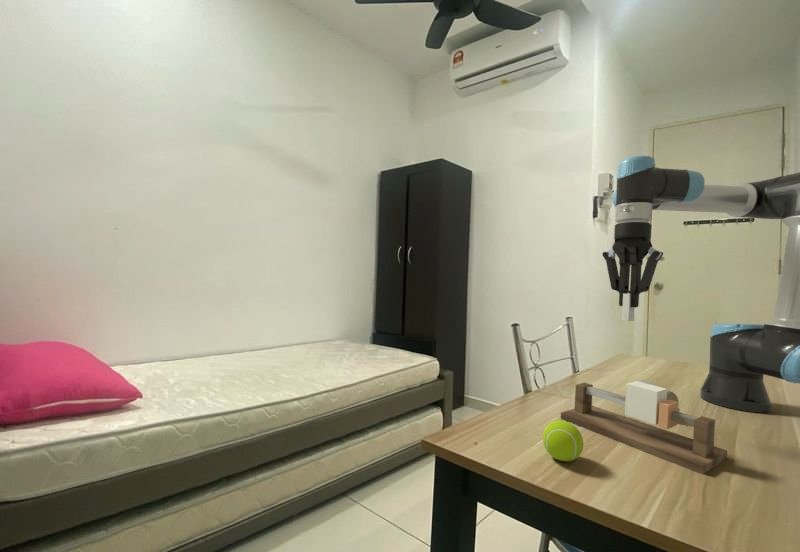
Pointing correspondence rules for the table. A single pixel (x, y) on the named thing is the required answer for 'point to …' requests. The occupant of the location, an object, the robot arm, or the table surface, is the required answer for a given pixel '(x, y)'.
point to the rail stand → (648, 431)
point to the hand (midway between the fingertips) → (627, 320)
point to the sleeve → (644, 401)
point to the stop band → (667, 414)
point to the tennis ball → (563, 440)
